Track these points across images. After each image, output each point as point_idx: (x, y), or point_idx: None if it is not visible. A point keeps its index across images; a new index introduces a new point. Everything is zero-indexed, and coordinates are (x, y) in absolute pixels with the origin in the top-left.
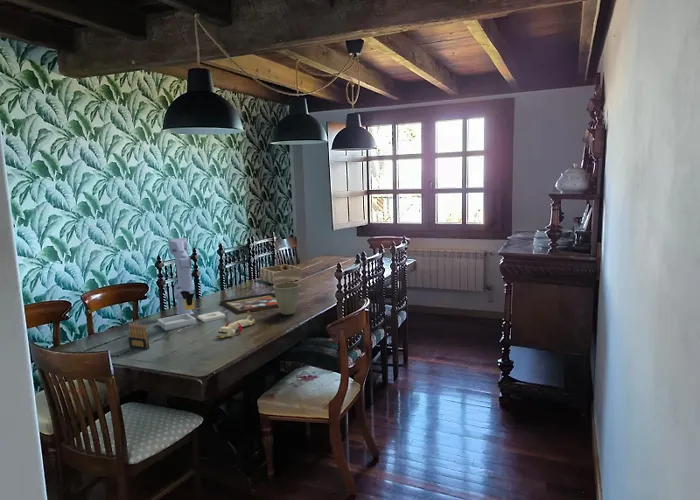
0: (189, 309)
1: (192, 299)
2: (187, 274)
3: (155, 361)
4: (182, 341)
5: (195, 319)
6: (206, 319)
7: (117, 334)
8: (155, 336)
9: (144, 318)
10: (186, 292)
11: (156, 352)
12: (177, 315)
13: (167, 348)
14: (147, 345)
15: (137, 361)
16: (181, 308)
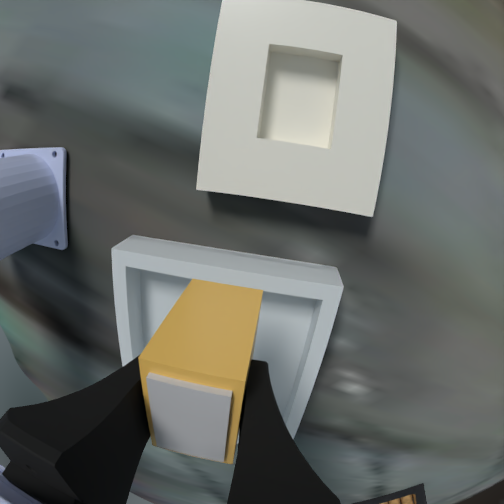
0: (254, 346)
1: (280, 414)
2: None
3: (499, 470)
4: (486, 414)
5: (341, 288)
6: (376, 194)
7: (177, 489)
8: (329, 463)
9: (19, 359)
10: (101, 494)
11: (466, 471)
12: (121, 324)
13: (477, 452)
14: (424, 494)
15: (459, 494)
16: (19, 247)
